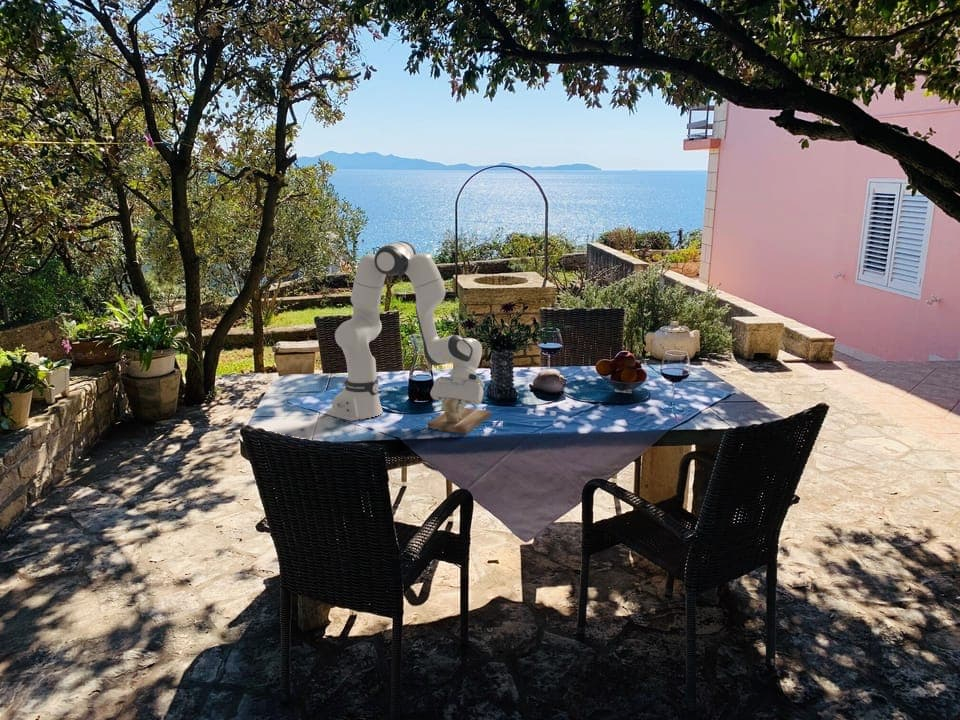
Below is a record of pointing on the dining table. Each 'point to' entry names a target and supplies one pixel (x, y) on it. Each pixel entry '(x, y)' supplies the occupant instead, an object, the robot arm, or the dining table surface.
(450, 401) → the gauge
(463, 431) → the board
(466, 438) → the dining table surface
